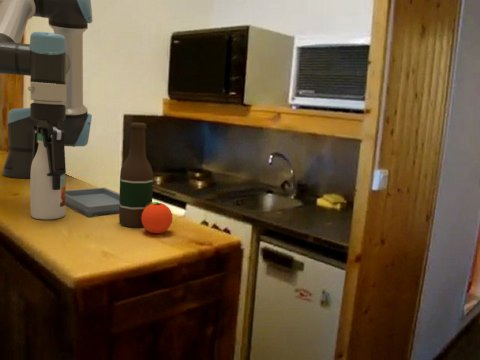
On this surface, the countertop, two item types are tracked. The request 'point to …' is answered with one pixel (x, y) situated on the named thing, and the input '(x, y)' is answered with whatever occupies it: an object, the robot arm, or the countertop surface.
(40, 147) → the milk bottle
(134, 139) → the beer bottle
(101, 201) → the slate tray
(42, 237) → the countertop surface
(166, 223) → the tomato
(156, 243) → the countertop surface
